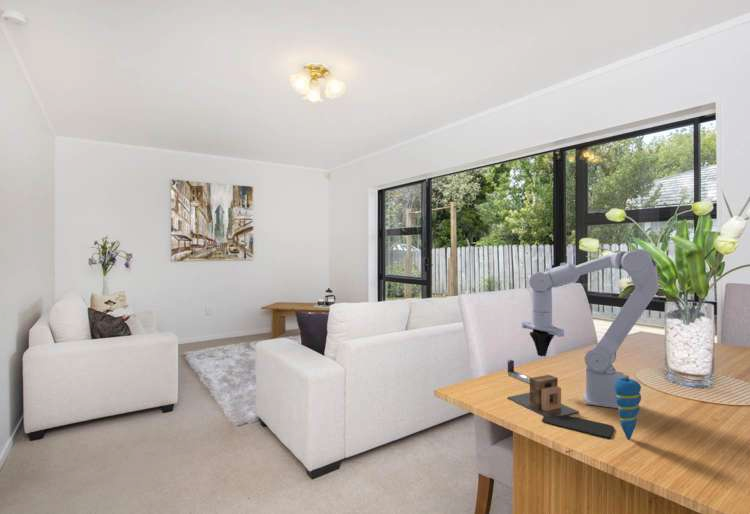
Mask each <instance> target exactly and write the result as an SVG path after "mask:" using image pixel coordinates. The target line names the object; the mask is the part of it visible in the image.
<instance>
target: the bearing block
mask: <svg viewBox="0 0 750 514" xmlns="http://www.w3.org/2000/svg"><path fill="white" fill-rule="evenodd" d="M558 384H559V383H558V377H556V376H553V375H550V374H545V375H540V376H534V377H531V378H530V385H529V393H530V405H531V406H533V407H535V408H537V409H541V389H543V388H548V387H553V386H558ZM558 387H559V386H558ZM550 402H553V394H550V395H549V403H550Z"/></svg>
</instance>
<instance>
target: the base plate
mask: <svg viewBox="0 0 750 514" xmlns="http://www.w3.org/2000/svg"><path fill="white" fill-rule="evenodd" d="M507 399H508V400H510V401H512V402H513V403H516V404H517V405H520V406H522V407H524V408H526V409H529V410H530V411H532V412H534V413H536V414H538V415H540V416H542V417H544V416H547V417H549V418H555V417H559V416H563V415H568V416H572V415H576V414H580V411H579V410H576V409H574V408H572V407H570V406H567V405H566V404H563V403H561V408H558V409H553V410H549V411H545V410H543V409H537V408H535V407H533V406H531V405H530V392H526V393H520V394H515V395H511V396H507Z"/></svg>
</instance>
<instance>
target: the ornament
mask: <svg viewBox="0 0 750 514" xmlns="http://www.w3.org/2000/svg"><path fill="white" fill-rule="evenodd" d="M614 388H615V392H616V394H617V396H616V402H617V404H618V406H619V408H617V412H618V414H619V423H620V426H621V429H622V432H623V433H624V434H625V437H626V439H628V440H630V439H631V438H632V436H633V434H634V431H635V428H636V425H637V422H638V414H639V411H640V405H639V404H640V403H641V401H642V395H641V390H642V385H641V383H639V382H638V381H637V380H635V379H632V378H630V375H629V373H628V374H624V378H619V379H617V380H616V382H615V386H614Z"/></svg>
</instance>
